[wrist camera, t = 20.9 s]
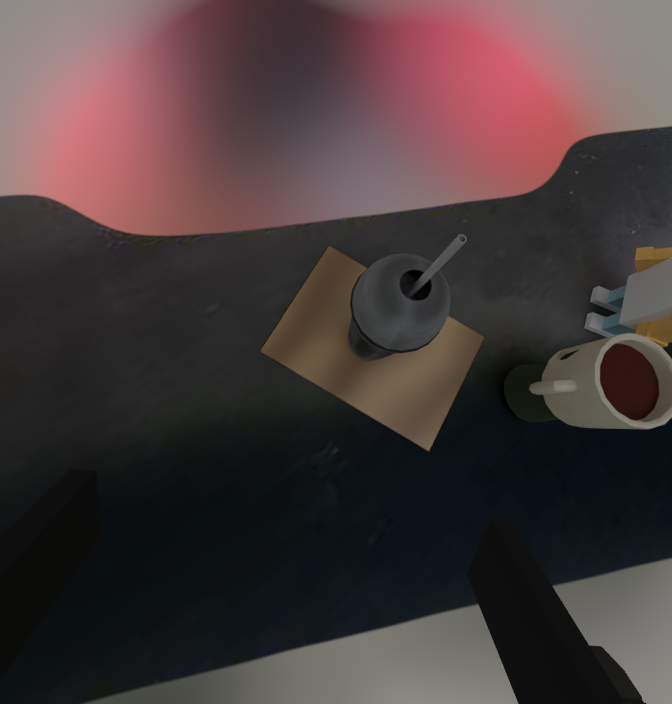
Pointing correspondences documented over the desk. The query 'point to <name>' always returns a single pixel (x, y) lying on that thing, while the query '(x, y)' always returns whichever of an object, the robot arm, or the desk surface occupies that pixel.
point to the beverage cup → (399, 304)
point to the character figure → (639, 300)
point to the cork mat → (377, 375)
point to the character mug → (596, 385)
